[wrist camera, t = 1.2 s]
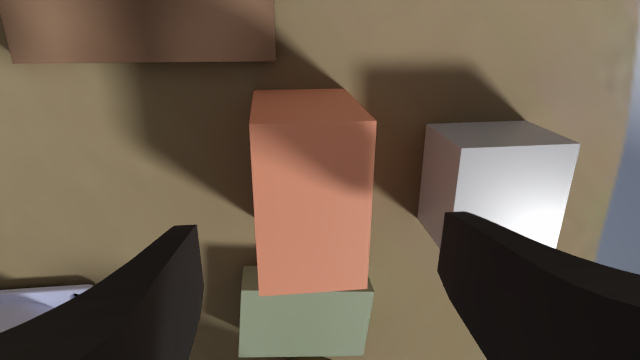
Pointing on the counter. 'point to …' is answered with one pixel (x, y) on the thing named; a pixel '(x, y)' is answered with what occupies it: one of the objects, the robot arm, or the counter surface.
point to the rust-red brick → (311, 190)
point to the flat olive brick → (302, 321)
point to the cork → (308, 358)
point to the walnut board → (139, 30)
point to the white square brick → (497, 176)
